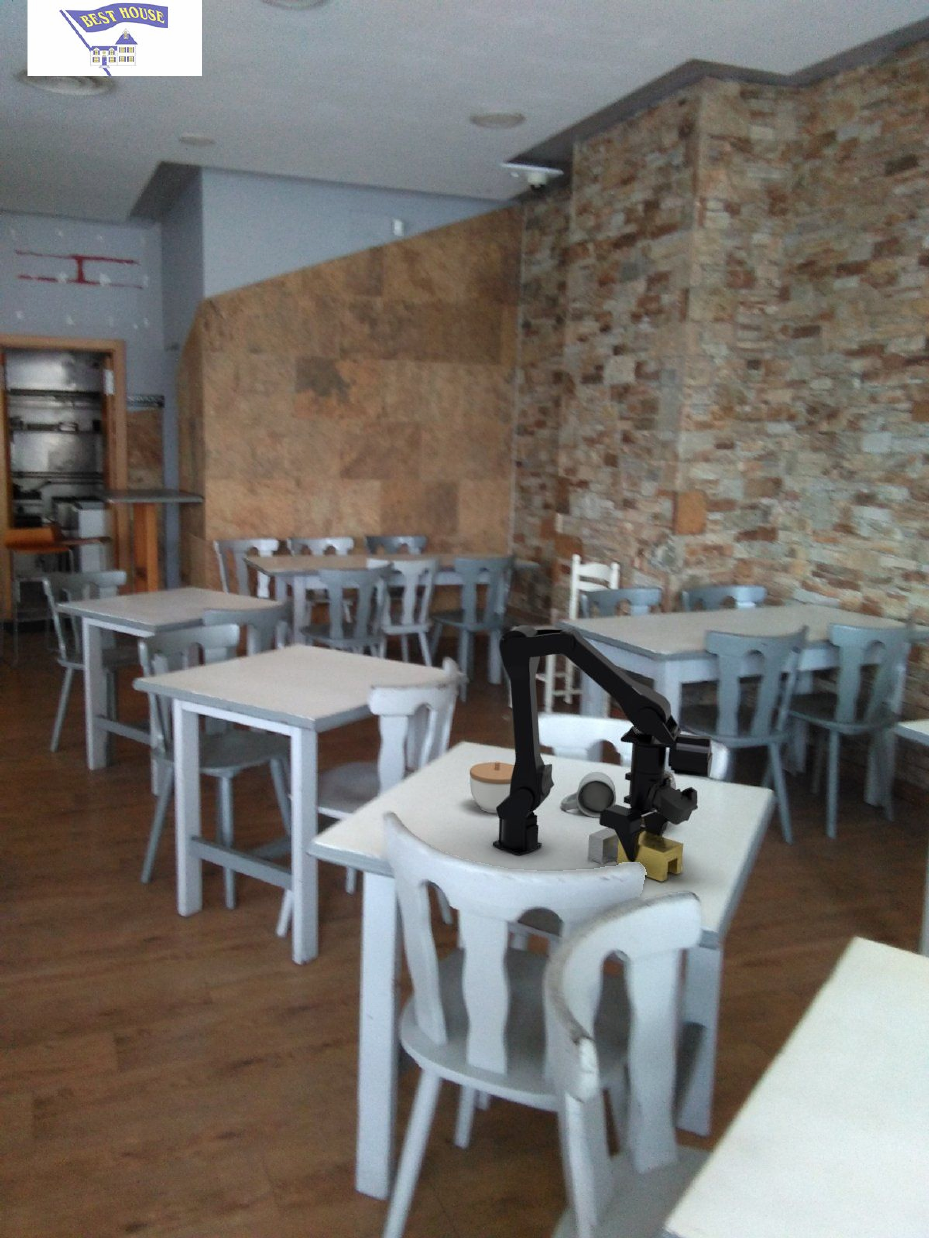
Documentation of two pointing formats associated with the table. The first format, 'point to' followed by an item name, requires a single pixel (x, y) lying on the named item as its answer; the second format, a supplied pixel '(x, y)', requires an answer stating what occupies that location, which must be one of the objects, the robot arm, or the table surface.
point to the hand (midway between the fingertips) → (642, 856)
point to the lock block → (656, 855)
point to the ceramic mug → (592, 795)
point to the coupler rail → (603, 846)
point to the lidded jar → (490, 784)
